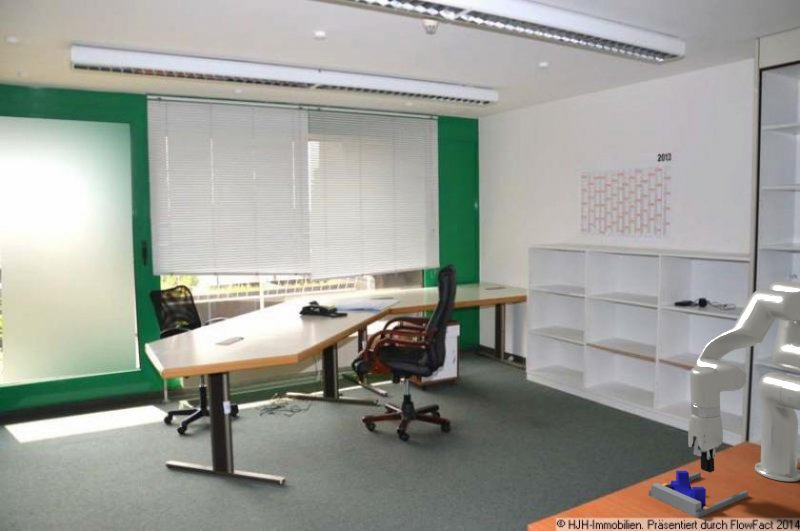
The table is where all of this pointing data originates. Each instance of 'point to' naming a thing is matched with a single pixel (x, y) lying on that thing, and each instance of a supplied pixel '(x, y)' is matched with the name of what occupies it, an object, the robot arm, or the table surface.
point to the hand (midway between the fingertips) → (707, 470)
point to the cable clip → (688, 488)
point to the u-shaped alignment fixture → (690, 499)
